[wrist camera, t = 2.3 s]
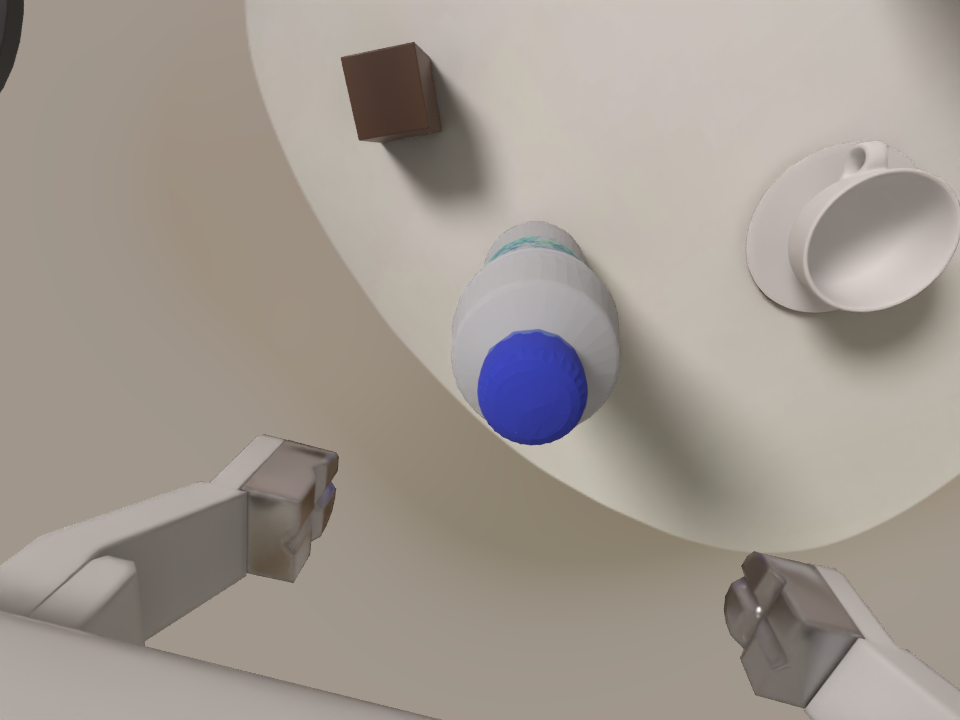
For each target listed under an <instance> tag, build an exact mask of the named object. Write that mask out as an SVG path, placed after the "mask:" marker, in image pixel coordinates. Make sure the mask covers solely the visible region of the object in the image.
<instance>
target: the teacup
mask: <svg viewBox="0 0 960 720" xmlns="http://www.w3.org/2000/svg"><path fill="white" fill-rule="evenodd" d="M959 239H960V204H959V201H958V199H957V196H956V195H955V193H954V191H953V190H952V189H951V188H950V186H949V185H948V184H947V183H946V182H944V181H943V180H942V179H940V178H939V177H937V176H935V175H933V174H931V173H929V172H926V171H923V170H919V169H918V168H917V167H916V165H915V164H914V163H913V162H912V161H911V160H910V159H909V158H908V157H906V156H905V155H904V154H902V153H901V152H899V151H897V150H895V149H893V148H891V147H888V146H886V145H885V144H884V143H883V142H881V141H869V142H848V143H842V144H837V145H833V146H830V147H827V148H824V149H821V150H819V151H816V152H814V153H812V154H810V155H808V156H807V157H805V158H803V159H801V160H800V161H798V162H797V163H795V164H794V165H792V166H791V167H790V168H789V169H787V170H786V171H785V172H784V173H783V174H782V175H781V176H779V177H778V179H777V180H776V181H775V182H774V183H773V184H772V185H771V186H770V187H769V189H768V190H767V191H766V193H765V194H764V196H763V197H762V199H761V200H760V202H759V204H758V205H757V207H756V209H755V212H754V214H753V216H752V219H751V222H750V225H749V229H748V234H747V240H746V256H747V262H748V266H749V270H750V272H751V275H752V277H753V279H754V281H755V282H756V284H757V285H758V287H759V288H760V289H761V290H762V292H763V293H764V294H765V295H766V296H768V297H769V298H770V299H772V300H773V301H774V302H776V303H778V304H780V305H782V306H784V307H786V308H789V309H792V310H797V311H801V312H812V313H821V312H830V311H836V310H840V309H841V310H845V311H850V312H873V311H879V310H883V309H887V308H890V307H893V306H896V305H898V304H901V303H903V302H905V301H907V300H909V299H911V298H912V297H914V296H915V295H917V294H918V293H920V292H921V291H923V290H924V289H925V288H926V287H928V286H929V285H930V284H931V283H932V282H933V281H934V280H935V279H936V278H937V277H938V276H939V275H940V274H941V273H942V271H943V270H944V269H945V268H946V266H947V265H948V263H949V262H950V260H951V258H952V256H953V255H954V253H955V250H956V248H957V246H958V243H959Z"/></svg>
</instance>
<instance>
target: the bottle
mask: <svg viewBox="0 0 960 720" xmlns="http://www.w3.org/2000/svg"><path fill="white" fill-rule="evenodd" d="M452 368H453V373H454V376H455V379H456V382H457V386H458V388H459V390H460V391H461V393H462V395H463V397H464V398H465V400H466V401H467V402H468V403H469V405H470V406H471V407H472V408H473V409H474V410H475V412H477V413H478V414H479V415H480V416H482V417H483V418H484V419H485V420H487V422H488V424H489V425H490V426H491V427H492V428H493V429H494V431H495V432H497V433H499V434H500V435H501V436H502V437H504V438H507V439H509V440H510V441H513V442H517V443H520V444H526V445H542V444H545V443H551V442H553V441H555V440H558V439H560V438H562V437H563V436H565V435H567V434H568V433H569V432H570V431H571V430H572V429H573V428H574V427H575V426H577V425H578V424H580V423H581V422H583V421H585V420H586V419H588V418H590V417H591V416H592V415H593V414H594V413H595V412H596V411H597V410H598V409H599V408H600V407H601V406H602V405H603V404H604V403H605V401H606V400H607V398H608V397H609V395H610V393H611V391H612V389H613V387H614V385H615V383H616V380H617V376H618V373H619V368H620V342H619V320H618V313H617V310H616V306H615V303H614V301H613V298H612V296H611V294H610V293H609V291H608V289H607V288H606V286H605V285H604V283H603V282H602V281H601V280H600V279H599V278H598V277H597V275H596V274H595V273H594V272H593V271H592V270H591V269H590V268H589V267H588V266H586V262H585V259H584V256H583V253H582V251H581V249H580V247H579V245H578V244H577V243H576V241H575V240H574V239H573V237H572V236H571V235H570V234H568V233H567V232H566V231H564V230H562V229H560V228H559V227H557V226H555V225H551V224H548V223H545V222H540V221H531V222H526V223H523V224H520V225H517V226H515V227H513V228H511V229H509V230H507V231H506V232H504V233H503V234H502V235H500V236H499V237H498V238H497V240H496V241H495V242H494V244H493V245H492V247H491V248H490V250H489V252H488V255H487V257H486V259H485V263H484V267H483V268H482V269H481V270H480V271H479V272H478V273H477V274H476V275H475V277H474V278H473V279H472V281H471V282H470V283H469V284H468V285H467V287H466V288H465V290H464V292H463V293H462V295H461V297H460V299H459V302H458V304H457V306H456V310H455V314H454V318H453V342H452Z"/></svg>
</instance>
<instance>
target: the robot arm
mask: <svg viewBox="0 0 960 720" xmlns="http://www.w3.org/2000/svg"><path fill="white" fill-rule="evenodd" d="M338 459H339V457H338V455H337V453H336V452H332V451H328V450H325V449H321V448H317V447H313V446H309V445H305V444H302V443H298V442H294V441H290V440H288V441H287V440H285V439H281V438H277V437H273V436H269V435H265V434H263V435H260V436H257V437H256V438H255V439H254V440H253V441H252V442H251V443H250V444H249V445H248V446H247V447H246V448H244V449H243V451H241V452H240V453H239V454H238V455H237V456H236V457H235V458H234V459H233V460H232V461H231V462H230V463H229V464H228V465H227V466H226V467H225V468H224V469H223V470H222V471H221V472H220V473H219V474H218V475H217V476H216V477H215V478H214V479H213V480H212V481H211V482H210V483H207V482H203V481H200V482H198V483H194V484H192V485H188V486H186V487H183V488H180V489H177V490H174V491H171V492H168V493H165V494H162V495H159V496H156V497H153V498H151V499H148V500H144V501H141V502H138V503H136V504H133V505H130V506H127V507H124V508H121V509H118V510H115V511H112V512H109V513H106V514H103V515H100V516H98V517H94V518H91V519H89V520H86V521H83V522H80V523H77V524H74V525H71V526H68V527H65V528H62V529H59V530H56V531H53V532H50V533H47V534H44V535H42V536H39V537H38V538H37V539H35V540H34V541H33V542H31V543H30V544H29V545H27V546H26V547H25V548H23V549H22V550H21V551H19V552H18V553H17V554H16V555H14V556H13V557H12V558H10V559H9V560H7V561H6V562H5V563H3V564H2V565H1V566H0V720H440V719H436V718H432V717H428V716H424V715H420V714H416V713H412V712H408V711H404V710H400V709H396V708H392V707H388V706H384V705H380V704H376V703H372V702H367V701H364V700H360V699H356V698H351V697H348V696H343V695H340V694H336V693H331V692H327V691H323V690H319V689H315V688H311V687H307V686H303V685H299V684H295V683H291V682H287V681H283V680H279V679H275V678H271V677H266V676H263V675H259V674H255V673H251V672H247V671H242V670H239V669H234V668H231V667H226V666H222V665H218V664H214V663H210V662H206V661H202V660H198V659H194V658H190V657H186V656H182V655H178V654H174V653H170V652H166V651H161V650H158V649H154V648H150V647H146V646H145V641H146V640H147V639H149V638H150V637H152V636H154V635H155V634H157V633H158V632H160V631H161V630H163V629H164V628H166V627H167V626H169V625H171V624H172V623H174V622H175V621H177V620H178V619H180V618H181V617H183V616H185V615H186V614H188V613H189V612H191V611H192V610H194V609H196V608H197V607H199V606H200V605H202V604H203V603H205V602H207V601H208V600H210V599H211V598H213V597H214V596H216V595H217V594H219V593H220V592H222V591H224V590H225V589H227V588H228V587H230V586H231V585H233V584H235V583H236V582H238V581H239V580H241V579H242V578H244V577H245V576H246V573H249V574H254V575H258V576H263V577H268V578H273V579H278V580H282V581H287V582H291V583H294V581H295V579H296V578H297V576H298V574H299V573H300V571H301V569H302V567H303V566H304V564H305V562H306V561H307V559H308V557H309V556H310V549H311V541H313V540H315V539H317V538H319V537H320V536H321V535H322V533H323V531H324V529H325V527H326V525H327V523H328V520H329V518H330V515H331V512H332V509H333V504H334V500H335V492H336V488H335V487H334V485H333V483H332V482H331V480H332V479H333V477H334V476H335V474H336V473H337V471H338ZM741 567H742V570H743V573H744V577H742V578H741V579H739V580H737V581H735V582H733V583H732V584H731V586H730V588H729V590H728V592H727V594H726V596H725V604H724V614H725V620H726V624H727V627H728V630H729V632H730V635H731V636H732V637H733V638H734V639H735V640H736V641H737V642H738V643H739V644H740V645H741V646H742V647H743V652H742V655H741V657H740V659H741V661H742V664H743V667H744V669H745V671H746V674H747V676H748V679H749V681H750V683H751V686H752V688H753V691H754V693H755V695H757V696H761V697H764V698H768V699H772V700H775V701H779V702H783V703H786V704H790V705H794V706H798V707H801V708H805V710H804V712H805V713H806V714H807V715H808V716H809V718H810V719H811V720H960V689H959V688H957V687H956V686H955V685H953V684H952V683H951V682H949V681H948V680H947V679H945V678H944V677H943V676H941V675H940V674H939V673H938V672H936V671H935V670H934V669H932V668H931V667H930V666H928V665H927V664H926V663H924V662H923V661H922V660H921V659H919V658H918V657H916V656H915V655H914V654H913V653H911V652H910V651H909V650H907V649H903V648H899V647H898V646H897V644H896V643H895V642H894V640H893V639H892V638H891V636H890V635H889V634H888V632H887V631H886V630H885V628H884V627H883V626H882V625H881V623H880V622H879V621H878V619H877V618H876V617H875V615H874V614H873V612H872V611H871V610H870V608H869V607H868V606H867V605H866V603H865V602H864V600H863V599H862V598H861V596H860V595H859V594H858V592H857V591H856V590H855V588H854V587H853V586H852V585H851V583H850V582H849V581H848V579H847V578H846V576H845V575H844V574H842V573H841V572H839V571H838V570H837V569H835V568H830V567H825V566H821V565H816V564H811V563H802V562H798V561H794V560H789V559H785V558H781V557H776V556H772V555H768V554H764V553H759V552H755V551H754V552H752V553H751V554H750V555H748V556H747V558H746V559H745V561H744V563H743V564H742V566H741Z"/></svg>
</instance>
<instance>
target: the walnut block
mask: <svg viewBox="0 0 960 720" xmlns="http://www.w3.org/2000/svg"><path fill="white" fill-rule="evenodd" d="M341 62H342V66H343V71H344V75H345V80H346V84H347V88H348V93H349V97H350V102H351V106H352V111H353V115H354V120H355V124H356V129H357V133H358V138H359V140H360V141H369V142H379V143H382V142H388V141H394V140H399V139H405V138H411V137H416V136H422V135H428V134H433V133H439V132H442V128H441V122H440V116H439V110H438V104H437V98H436V91H435V85H434V79H433V73H432V67H431V61H430V57H429V56H428V55H427V54H426V53H425V52H424V51H423V50H422V49H421V48H420V47H419V46H418V45H417V44H415V43H414V42H411V43H407V44H402V45H397V46H392V47H387V48H383V49H378V50H373V51H368V52H363V53H359V54H354V55H349V56H344V57H341Z"/></svg>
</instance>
